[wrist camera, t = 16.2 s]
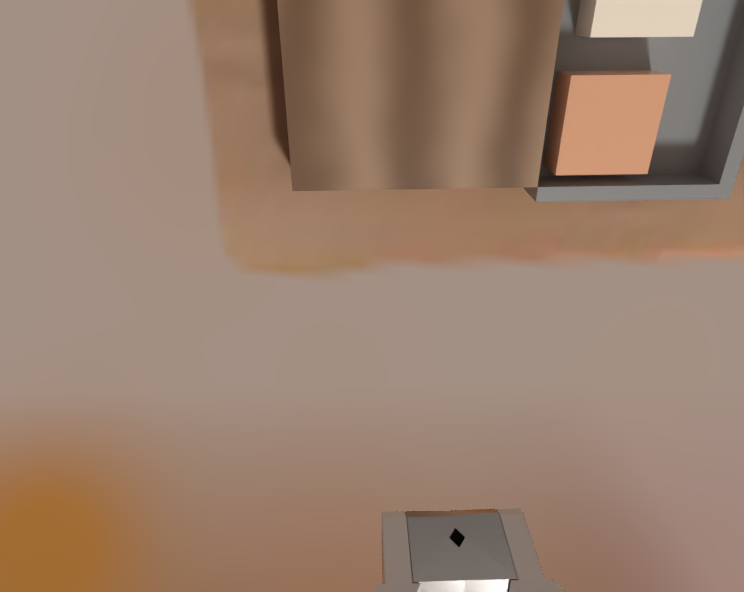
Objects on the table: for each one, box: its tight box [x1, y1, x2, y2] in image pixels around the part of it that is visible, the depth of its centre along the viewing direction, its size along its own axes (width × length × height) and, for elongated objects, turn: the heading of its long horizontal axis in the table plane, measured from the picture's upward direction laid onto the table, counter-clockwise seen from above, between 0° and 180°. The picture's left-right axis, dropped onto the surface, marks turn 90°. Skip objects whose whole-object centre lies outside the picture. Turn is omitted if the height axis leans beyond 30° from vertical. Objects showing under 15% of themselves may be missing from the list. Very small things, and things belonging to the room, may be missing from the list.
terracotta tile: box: [544, 70, 671, 175], centre depth 34 cm, size 6×6×2 cm
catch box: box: [524, 0, 744, 202], centre depth 33 cm, size 13×18×3 cm
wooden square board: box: [277, 0, 564, 191], centre depth 32 cm, size 16×16×3 cm
